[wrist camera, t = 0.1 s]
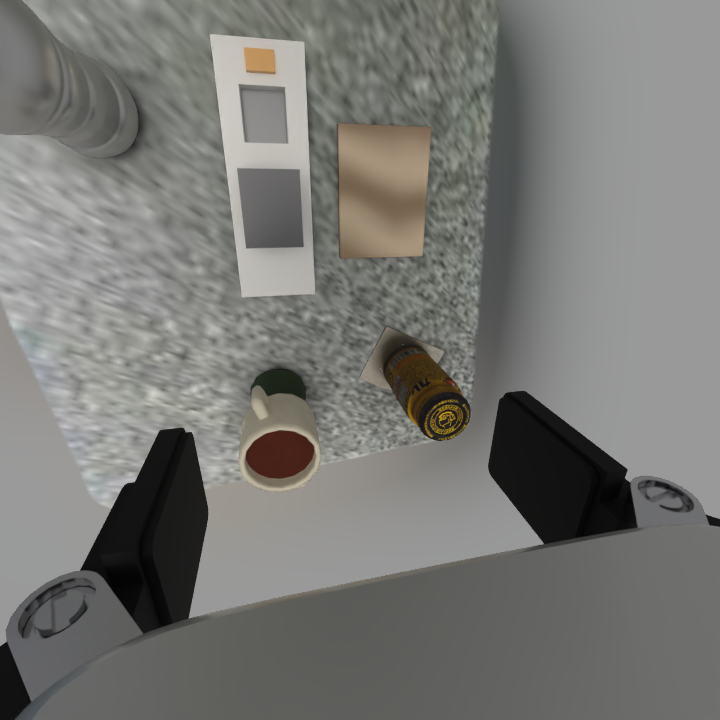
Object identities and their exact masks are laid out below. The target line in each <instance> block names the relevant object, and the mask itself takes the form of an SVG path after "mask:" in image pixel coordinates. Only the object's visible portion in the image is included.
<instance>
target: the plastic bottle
mask: <svg viewBox="0 0 720 720" xmlns="http://www.w3.org/2000/svg"><path fill="white" fill-rule="evenodd" d="M137 131H138V113H137V108H136V106H135V103H134V100H133V98H132V96H131V94H130V93H129V91H128V89H127V87H126V86H125V84H124V83H123V82H122V80H121V79H120V78H119V76H118V75H117V74H116V73H115V72H114V71H112V70H111V69H110V68H109V67H108V66H106V65H105V64H103V63H102V62H100V61H98V60H96V59H94V58H92V57H90V56H88V55H85V54H83V53H79V52H75V51H73V50H71V49H70V48H68V47H66V46H65V45H64V44H63V43H61V42H60V41H59V40H58V39H57V38H56V37H55V36H54V35H53V34H52V33H51V32H50V31H49V29H48V28H47V27H46V26H45V25H44V24H43V22H42V21H41V20H40V19H39V18H38V17H37V15H36V14H35V13H34V12H33V11H32V10H31V9H30V8H29V7H28V6H27V5H26V4H25V3H24V2H23V1H22V0H0V134H5V135H35V134H37V135H43V136H49V137H52V138H54V139H56V140H58V141H59V142H61V143H62V144H64V145H65V146H67V147H69V148H70V149H72V150H74V151H76V152H78V153H80V154H83V155H85V156H88V157H93V158H108V157H112V156H116V155H119V154H121V153H123V152H125V151H126V150H127V149H128V148H129V147H130V146H131V145H132V143H133V142H134V140H135V138H136V135H137Z"/></svg>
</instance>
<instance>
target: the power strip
mask: <svg viewBox="0 0 720 720" xmlns="http://www.w3.org/2000/svg"><path fill="white" fill-rule="evenodd" d="M210 40H211V48H212V56H213V64H214V72H215V81H216V89H217V97H218V105H219V113H220V121H221V130H222V138H223V146H224V154H225V162H226V170H227V178H228V187H229V195H230V203H231V211H232V219H233V227H234V236H235V244H236V252H237V260H238V268H239V276H240V284H241V293H242V297H261V296H282V295H304V294H315V279H314V256H313V233H312V210H311V187H310V164H309V141H308V118H307V95H306V72H305V49H304V42H299V41H287V40H275V39H263V38H251V37H239V36H227V35H215V34H210ZM237 168H255V169H300V186H301V205H302V224H303V243H304V247H289V248H246V244H245V235H244V226H243V217H242V208H241V199H240V190H239V182H238V173H237Z"/></svg>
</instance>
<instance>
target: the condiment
mask: <svg viewBox="0 0 720 720" xmlns="http://www.w3.org/2000/svg"><path fill="white" fill-rule="evenodd" d="M402 344H404V345H402ZM443 353H444V351H442V350H440V349H438V348H436V347H433V346H431V345H429V344H427V343H424V342H422V341H420V340H417V339H415V338H412V337H410V336H408V335H405V334H403V333H401V332H398V331H396V330H393V329H391V328H389V327H386V329H385V330H384V332H383V334H382V336H381V337H380V339H379V341H378V343H377V345H376V347H375V349H374V350H373V352H372V354H371V356H370V358H369V360H368V362H367V364H366V366H365V368H364V370H363V372H362V374H361V376H360V378H359V379H360V380H363V381H365V382H368V383H371V384H373V385H377V386H379V387H382V388H385V389H388V390H391V391H393V393H394V394H395V396H396V398H397V400H398V401H399V403H400V404H401V406H402V408H403V410H404V411H405V413H406V414H407V416H408V417H409V418H410V420H411V421H412V422H413V423H414V424H416V425H417V426H418V427H419V428H420V430H421V431H422V432H423V434H424V435H426V436H427V437H428V438H430V439H433V440H437V441H443V440H449V439H452V438H454V437H455V436H457V435H459V434H460V433H461V432H462V431H463V430H464V429H465V427H466V426H467V424H468V423H469V420H470V405H469V404H468V401H467V400H466V399H465V398H464V397H463V395H462V394H461V391H460V388H459V387H458V385H457V384H456V383H455V382H454V381H453V380H452V379H451V378H450V377H449V375H447V373H446V372H445V371H444V370H443V369H442V368H441V367H440V366H439V365H438V364H437V363H438V362H439V360H440V358H441V357H442V355H443ZM380 367H381V368H382V370H383V372H382V370H380Z"/></svg>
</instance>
